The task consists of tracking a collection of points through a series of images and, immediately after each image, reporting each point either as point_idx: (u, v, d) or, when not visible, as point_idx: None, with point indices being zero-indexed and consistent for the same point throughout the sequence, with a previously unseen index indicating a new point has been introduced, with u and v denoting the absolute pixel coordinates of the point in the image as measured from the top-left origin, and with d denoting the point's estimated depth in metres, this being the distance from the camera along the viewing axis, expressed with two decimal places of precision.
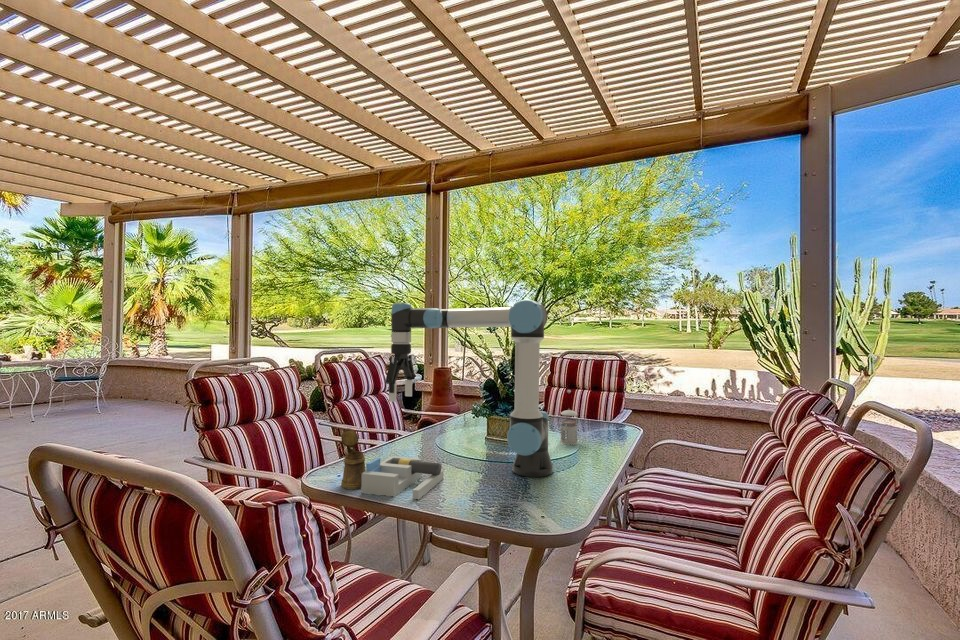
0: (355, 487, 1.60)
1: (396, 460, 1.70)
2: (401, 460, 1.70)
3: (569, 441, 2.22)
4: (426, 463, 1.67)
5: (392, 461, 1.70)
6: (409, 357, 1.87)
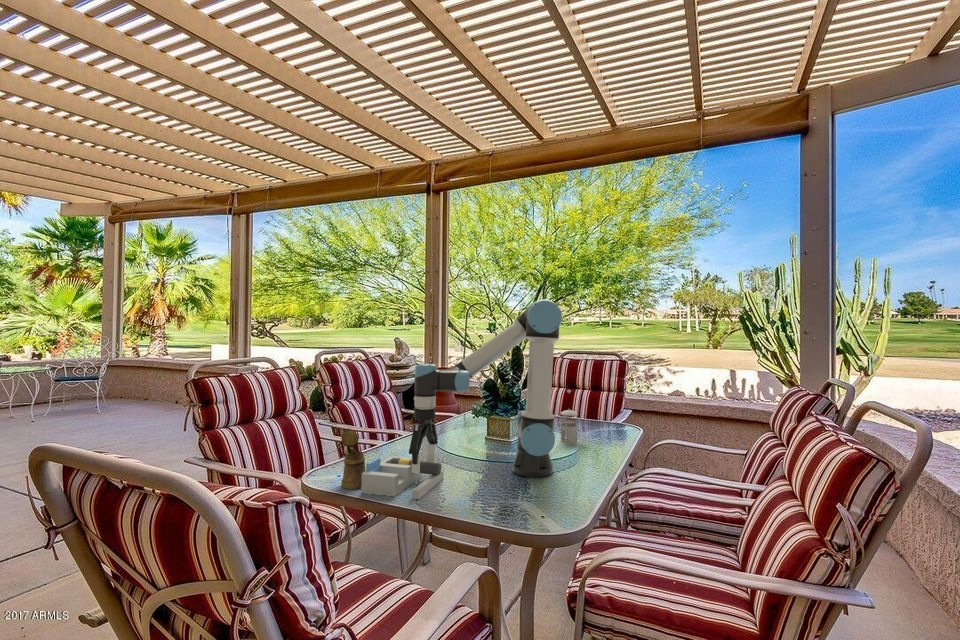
0: (355, 487, 1.60)
1: (396, 460, 1.70)
2: (401, 460, 1.70)
3: (569, 441, 2.22)
4: (426, 463, 1.67)
5: (392, 461, 1.70)
6: (432, 420, 1.73)
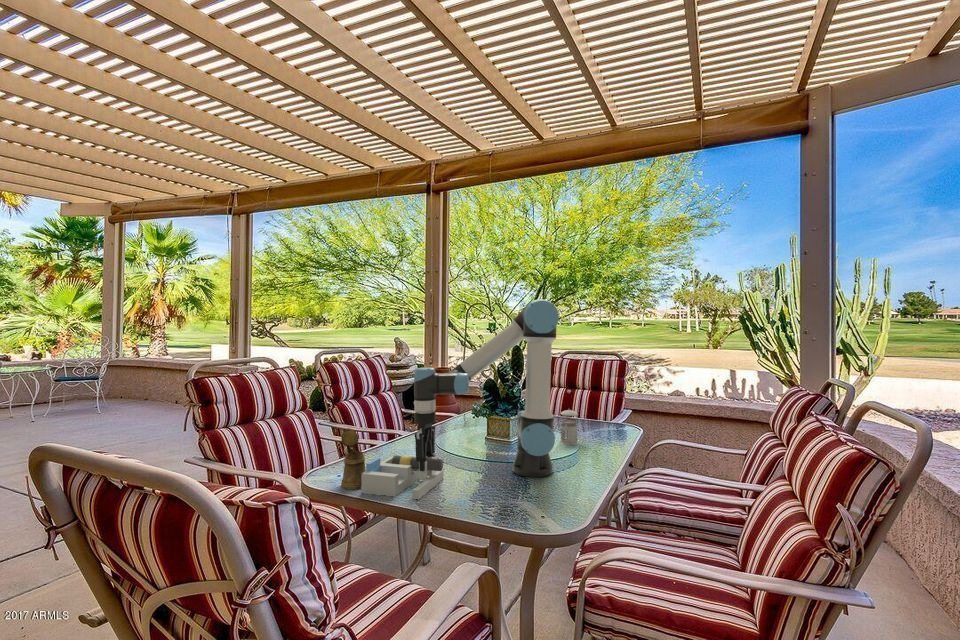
0: (355, 487, 1.60)
1: (398, 457, 1.70)
2: (403, 457, 1.69)
3: (569, 441, 2.22)
4: (428, 459, 1.67)
5: (394, 458, 1.70)
6: (433, 428, 1.73)
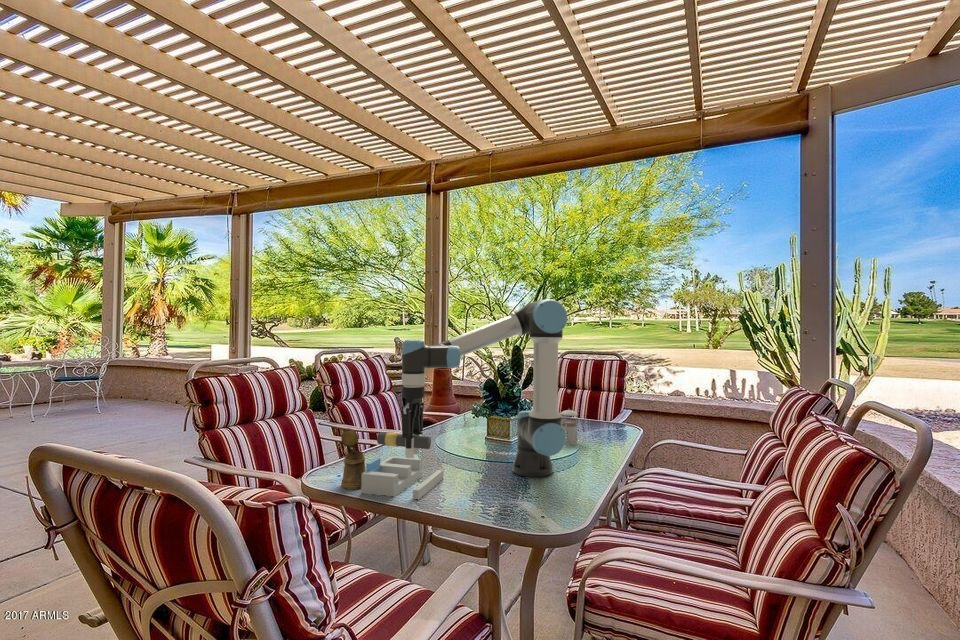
0: (355, 487, 1.60)
1: (383, 434, 1.61)
2: (388, 434, 1.60)
3: (569, 441, 2.22)
4: (415, 437, 1.57)
5: (379, 435, 1.61)
6: (421, 404, 1.64)
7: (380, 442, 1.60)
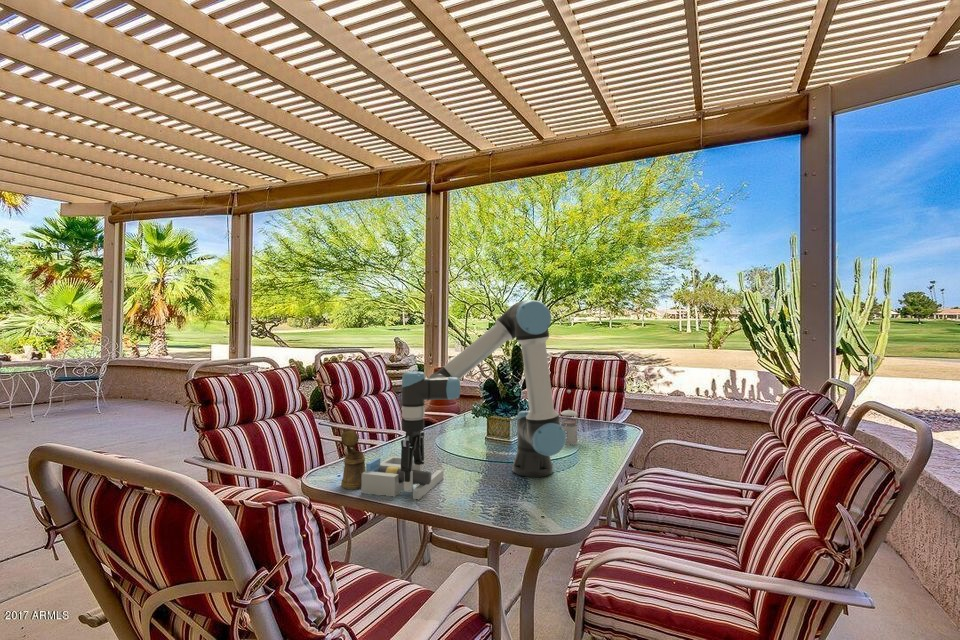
0: (355, 487, 1.60)
1: (383, 468, 1.60)
2: (389, 468, 1.60)
3: (569, 441, 2.22)
4: (415, 472, 1.57)
5: (379, 469, 1.60)
6: (421, 434, 1.64)
7: None
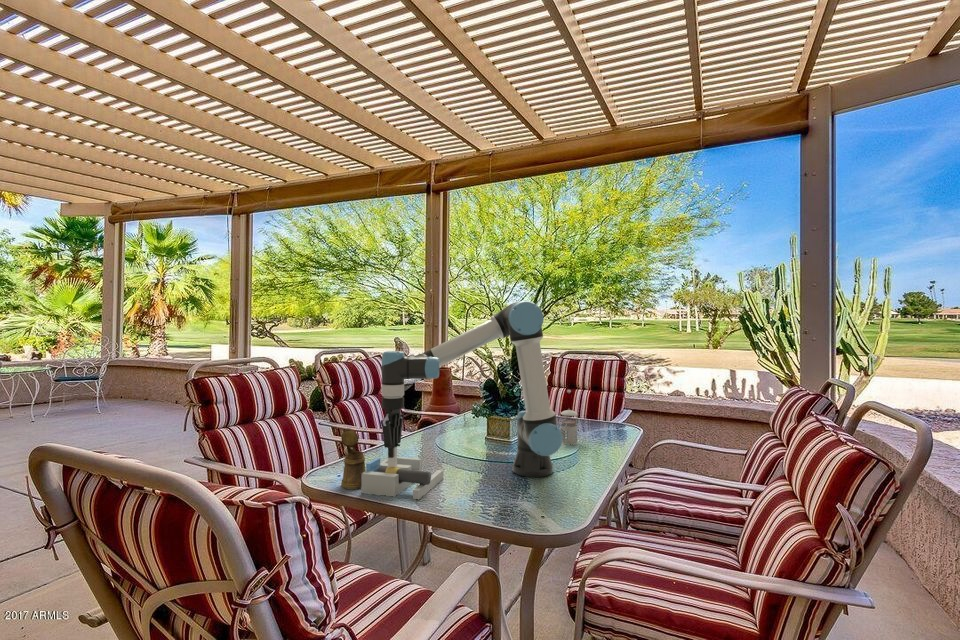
0: (355, 487, 1.60)
1: (383, 469, 1.60)
2: (388, 469, 1.59)
3: (569, 441, 2.22)
4: (414, 473, 1.57)
5: (378, 471, 1.60)
6: (401, 416, 1.65)
7: None
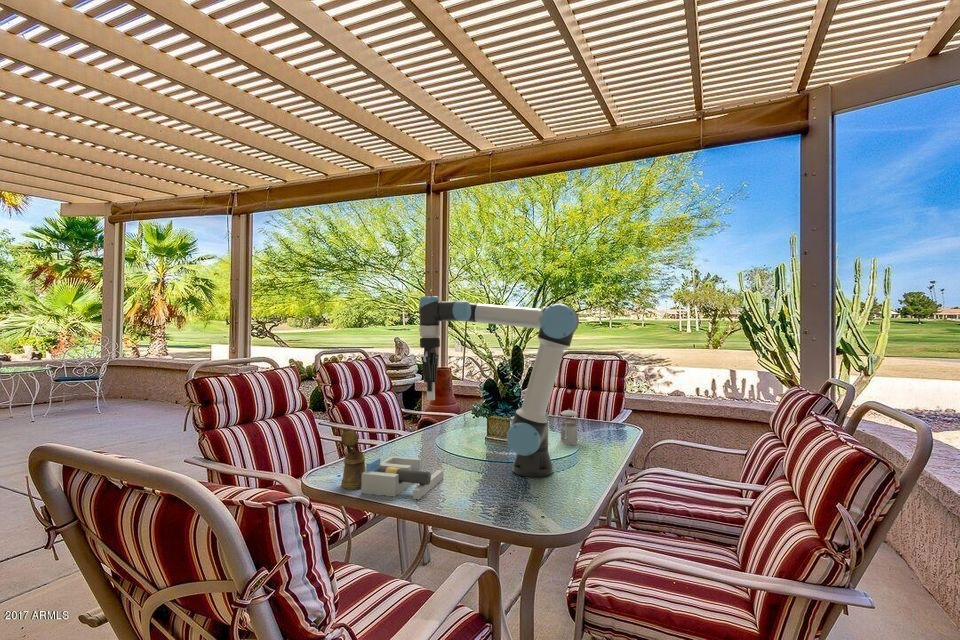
0: (355, 487, 1.60)
1: (383, 469, 1.60)
2: (388, 470, 1.59)
3: (569, 441, 2.22)
4: (414, 473, 1.57)
5: (378, 471, 1.60)
6: (436, 356, 1.84)
7: None
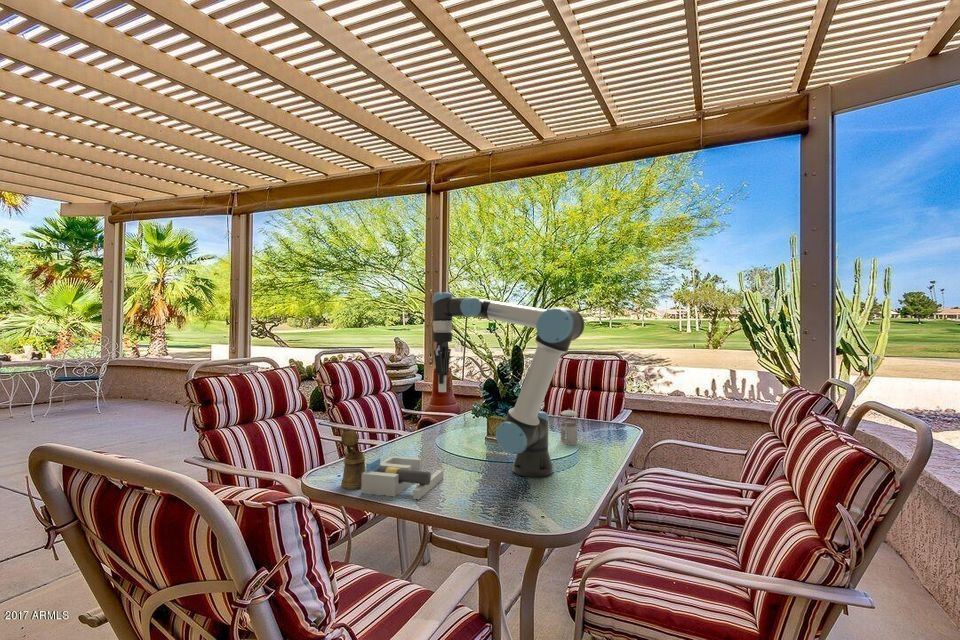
0: (355, 487, 1.60)
1: (382, 470, 1.60)
2: (388, 470, 1.59)
3: (569, 441, 2.22)
4: (414, 473, 1.57)
5: (378, 471, 1.60)
6: (448, 350, 1.91)
7: None
